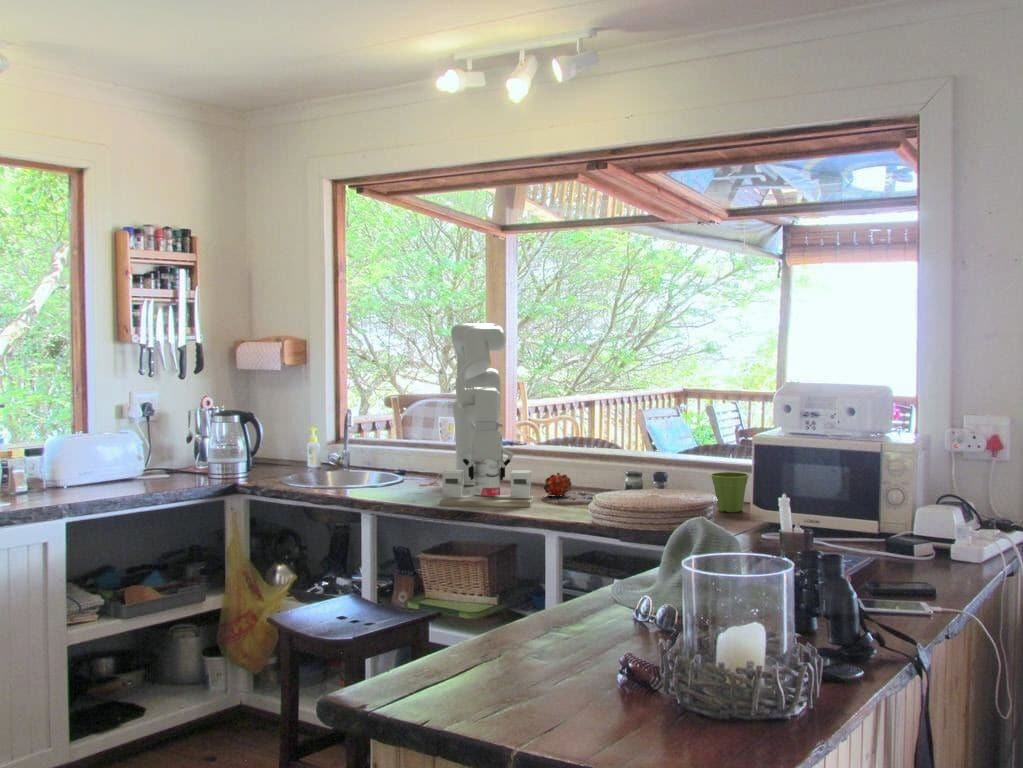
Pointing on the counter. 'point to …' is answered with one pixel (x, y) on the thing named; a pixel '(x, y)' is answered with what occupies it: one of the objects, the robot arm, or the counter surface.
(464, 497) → the rail board
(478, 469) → the ink box
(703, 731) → the counter surface
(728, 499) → the plant pot
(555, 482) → the dragon fruit
